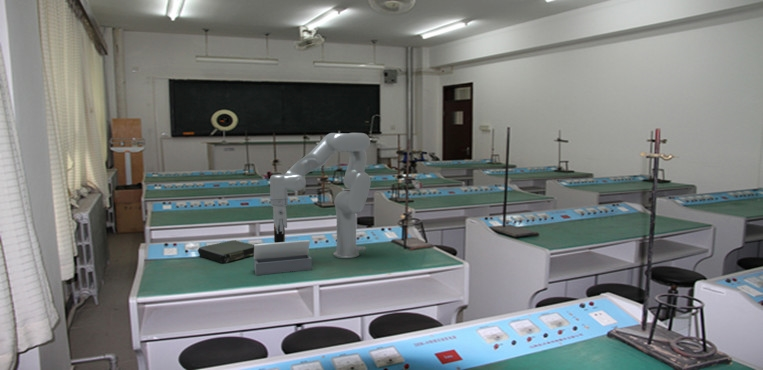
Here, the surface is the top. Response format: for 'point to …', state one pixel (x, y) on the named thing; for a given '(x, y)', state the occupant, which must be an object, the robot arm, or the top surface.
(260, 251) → the panel
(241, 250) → the network switch
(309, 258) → the block
